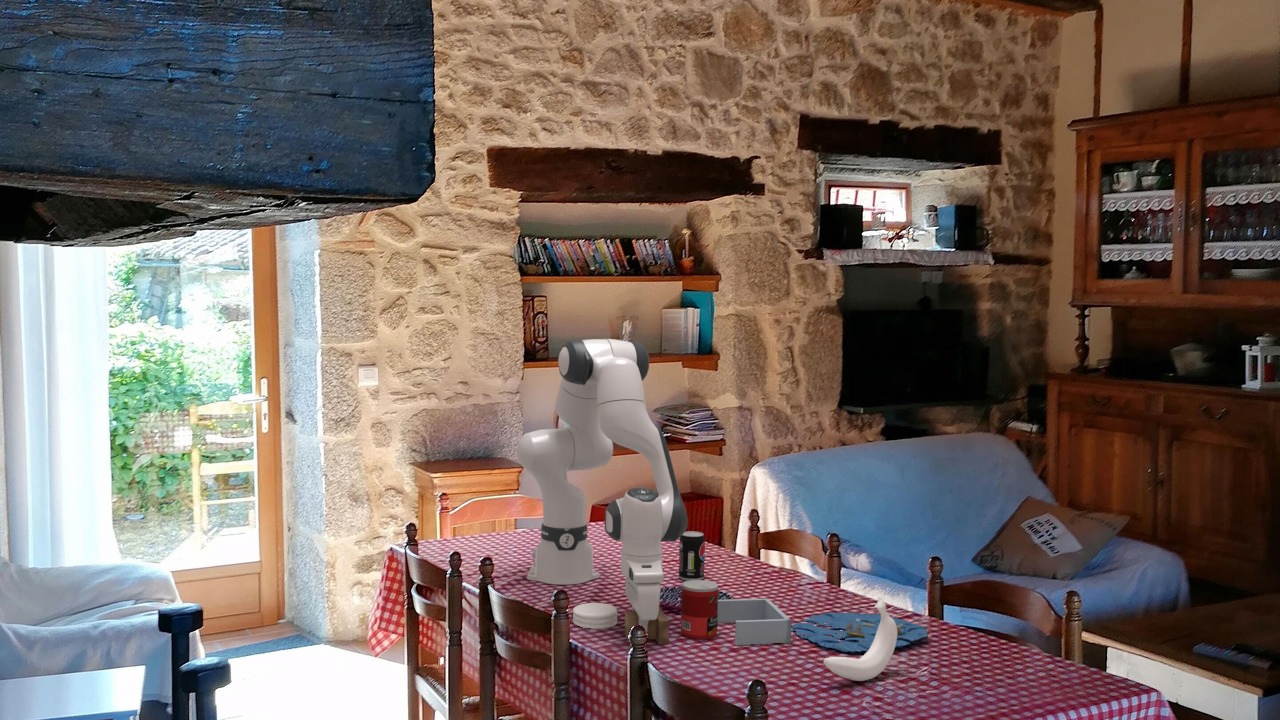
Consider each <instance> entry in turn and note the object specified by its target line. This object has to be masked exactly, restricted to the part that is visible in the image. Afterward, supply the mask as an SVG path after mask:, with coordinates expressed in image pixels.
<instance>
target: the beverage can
mask: <svg viewBox="0 0 1280 720" xmlns="http://www.w3.org/2000/svg"><path fill="white" fill-rule="evenodd" d="M704 536H705V535H704V533H703V532H701V531H693V530H692V531H691V530H690V531H688V530H687V531H685V532H684V533H683V534H682V535H681V537H679V546H678V547H679V552H678V553H679V554H678V555H679V556H678V577H679V578H680V579H682V580H681V581H683V580H685V581H684V582H686V581H690V580H703V579H704V578H705V561H706V560H705V559H706V558H705V556H706V555H705V554H706V553H705V552H706V551H705V550H706V538H705V537H704Z"/></svg>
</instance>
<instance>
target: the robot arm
mask: <svg viewBox="0 0 1280 720" xmlns="http://www.w3.org/2000/svg"><path fill="white" fill-rule="evenodd" d="M557 365H558V371H559V374H560V376H561V380H560V383H559V387H558V392H557V396H556V400H555V403H554V408H555V412H556V415H557V416H558V417H559V419H561V421H563V422H564V423H566V424H567V425H568V426H567V427H564V428H545V429H544V428H543V429H541V428H540V429H538V430H533V431H530V432H527V433H524V434H523V435H521V437H520V439H519V441H518V444H517V447H516V455H517V459H518V462H519V464H520V465H521V466H522V468H523V469H524V470H526V471H527V472H528V473H530V474H531V475H532V477H533V478H534V479H535V481H536V482H537V485H538V487H539V490H540V493H541V497H542V517H543V518H542V523H541V526H540V527H541V528H540V538H541V540H540V542H539V543H538V544H537V545H536V547H535V549H532V551H531V552H532V553H531V554H532V555H531V559H532V560H533V559H534V560H533V563H532V564H531V567H530V569H529V571H528V573H527V575H526V580H529V581H537V582H540V583H543V584H548V585H565V586H566V585H579V584H582V583H586V582H589V581H592V580H595V579H599V578H600V577H601V576H600V575H601V574H600V572H598V571H597V570H596V569H594V547H593V545H592V544H591V543H590V542H589V541H588V533H589V530H588V524H587V523H586V522H587V497H586V494H585V492H584V491H583V490H582V488H580V487H578V486H576V485H574V484H572V483H570V482H569V480H568V476H567V473H568V472H572V471H573V472H574V471H586V470H587V471H590V470H593V469H594V470H595V469H597V468H600V467H604V466H607V465H608V464H609V462H610V460H611V459H612V456H613V453H614V444H617V445H619V446H620V447H621V446H622V447H624V448H628V449H629V450H632V451H635V452H637V453H639V454H640V455H642V456H643V457H645V458H646V460H647V461H648V462H649V464H650V467H651V472H652V475H653V479H654V484H655V487H656V490H654V489H651V488H647V487H633V488H630V489H628V490H626V491H625V492H624V493H625V494H624V496H623V497H621V498H618V499H614V500H612V501H611V502H610V503H609V504H608V505H607V507H606V508H605V510H604V532H605V533H606V534H607V536H609V538H611V539H613V540H614V541H616V542H621V543H622V547H621V551H620V552H621V553H620V554H621V555H620V573H621V575H623V576H625V583H624V587H625V588H624V591H625V592H624V593H625V597H626V598H627V601H629V603H630V605H631V608H632V609H631V611H636V613H637V614H638V617H639V624H638V625H640V626H643V627H644V628H645V630H646V632H647V625H648V622H649V620H656V619H657V616H658V612H659V607H660V603H661V602H660V599H661V590H662V589H661V584H662V583H663V582H664V578H665V576H664V571H663V547H662V542H667V543H674V542H676V541H677V540H679V539H680V537H681V535H682V534H683V533H684V532H686V530H687V528H688V525H689V524H688V523H689V522H688V519H689V518H688V513H687V510H686V509H687V508H686V506H685V504H684V503H685V502H684V501H683V499H682V495H681V493H680V490H679V486H678V481H677V478H676V474H675V469H674V466H673V461H672V459H671V455H670V451H669V447H668V445H667V442H666V441H667V440H666V438H665V436H664V433H663V431H662V430H661V428H660V427H658V426H656V425H655V424H654V422H653V421H652V420H651V418H650V416H649V413H648V410H647V405H646V397H645V396H646V395H645V389H644V384H643V381H644V380H645V379H646V377H647V375H648V373H649V369H650V355H649V352H648V349H647V348H646V346H645V345H644V344H642V343H641V342H637V341H633V340H628V341H627V340H621V339H614V338H596V339H594V338H593V339H592V338H591V339H581V338H576V339H571V340H570V339H569V340H568V341H565V342H564V343H563V345H562V346H561V348H560V350H559V353H558V363H557Z"/></svg>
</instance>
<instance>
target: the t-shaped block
mask: <svg viewBox="0 0 1280 720" xmlns="http://www.w3.org/2000/svg"><path fill="white" fill-rule="evenodd" d="M638 624H639V617H638V614H637V613H636V611H633V610H626V611H624V635H625V637H626V639H627V640H628V635H629V632H630V630H631V628H632V627H633V626H635V625H638ZM669 633H670V620H669V619H668V617H667V616H666V614H665V613H664V611H663V610H662V609H661V607H660V606H659V612H658V616H657V619H656V620H649V622H648V625H647V634H648V639H647V640H653V639H654V640H656V642H657V643H658V645H669V642H670V641H669Z"/></svg>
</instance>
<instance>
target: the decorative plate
mask: <svg viewBox="0 0 1280 720" xmlns="http://www.w3.org/2000/svg"><path fill="white" fill-rule="evenodd" d="M890 617H891V618H892V619H893V620H894V621H895V623H896V626H897V641H896V645H895V648H899V649H900V648H903V647H907V645H911V643H910V642H915V641H918V640H920V639H923V638H926V637H927V636H928V630H927V629H926V627H925V626H922V625H920V624H916V623H912V622H909V621H907V620H904V619H900V618H897V617H894V616H890ZM807 618H809V619H806V618H803V619H802V620H804V621H803V622H809V623H795V622H794V624H792V626H791V629H793V630H792V632H793V631H796V630H800V631H796V632H794V633H795V634H796V636H798V635H801V636H802V637H801V636H800V637H801V639H803V638H805V639H808V640H810V641H811V642H812V643H817V644H818V645H819V646H820V647H821V646H822V647H825V648H832V649H836V650H839V651H841V652H845V653H848V652H849V653H851V654H854V652H860V653H861V652H862V651H865V652H867V651H868V650H869V649H870V647H871V645H872V643H873V641H874V638H875V636H876V633H877V630H878V627H879V624H880V621H881V614H880V613H873V614H872V613H860V612H859V613H858V612H857V613H855V612H839V611H838V612H824V613H822V614H821V613H820V614H815V615H812V616H807ZM815 623H818V624H815ZM824 623H825V624H824ZM826 623H827V624H826ZM814 625H816V626H814ZM820 625H825V626H824V627H828V626H832V627H830V628H831V629H828V628H822V627H823V626H820ZM817 626H820V627H817ZM839 628H841V629H839ZM833 629H838V630H833ZM840 630H843V631H840ZM835 633H837V634H835ZM803 634H805V635H804V636H803ZM838 634H839V635H838ZM824 635H825V636H824ZM826 635H827V636H826ZM829 635H832V636H833V637H830V636H829ZM840 635H841V637H842V636H843V637H842V638H843V639H844V638H845V640H843V641H838V640H840V639H842V638H841V637H840ZM837 638H838V639H837ZM902 638H903V639H902ZM805 639H804V640H805ZM854 641H856V642H854Z"/></svg>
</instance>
